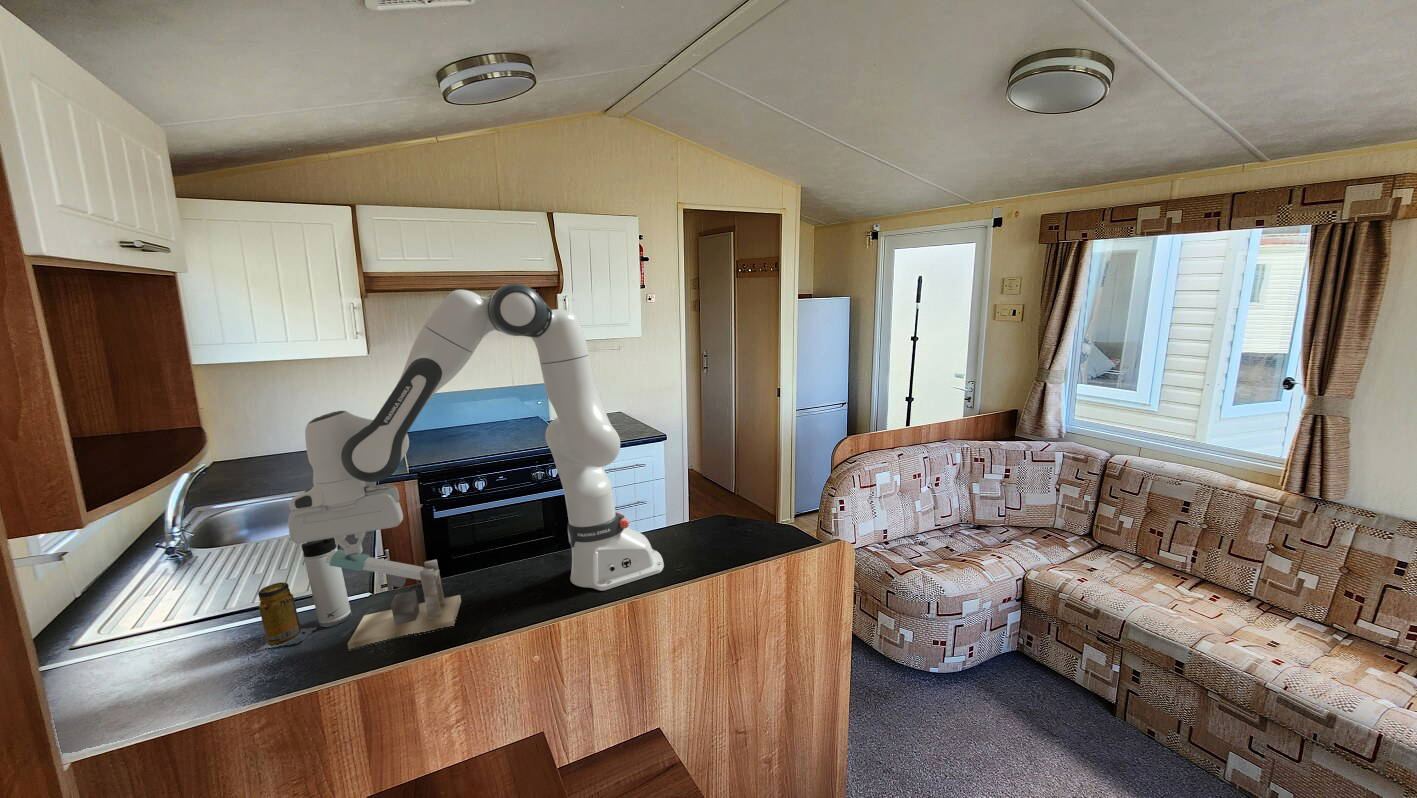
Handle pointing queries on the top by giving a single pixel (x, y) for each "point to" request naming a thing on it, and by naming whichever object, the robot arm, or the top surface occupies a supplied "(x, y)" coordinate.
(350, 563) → the press lever
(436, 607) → the press base
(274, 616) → the condiment
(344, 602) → the travel mug
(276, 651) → the top surface
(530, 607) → the top surface
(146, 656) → the top surface
